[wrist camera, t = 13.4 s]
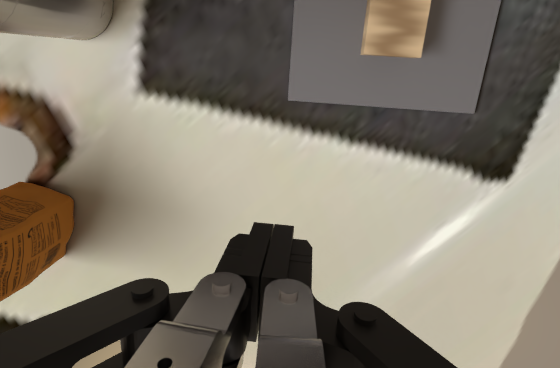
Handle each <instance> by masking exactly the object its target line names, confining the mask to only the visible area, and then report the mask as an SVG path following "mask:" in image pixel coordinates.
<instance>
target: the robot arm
mask: <svg viewBox="0 0 560 368" xmlns="http://www.w3.org/2000/svg"><path fill="white" fill-rule="evenodd" d="M112 11H113V0H0V33H10V34H21V35H32V36H43V37H54V38H63V39H75V40H87V39H92V38H94V37H96V36H98V35H99V34H101V33H102V32H103V31H104V30H105V28H106V27H107V26H108V24H109V21H110V19H111V16H112ZM293 233H294V226H288V225H278V224H275V225H273V224H267V223H257V222H254V224H253V227H252V229H251V232H250V234H249V235H248V234H238V235H236V236H235V237H233V238H232V239H230V241H229V243H228V245H227V248H226V249H225V252H224V254H223V256H222V258H221V260H220V262H219V264H218V266H217V268H216V270H215V272H214V273H213V274H209V275H207V276H205V277H204V278H202V279H201V280H200V282H199V283H198V285H197V286H196V288H195V289H194V290H193V291H189V292H181V293H171V294H169V287H168V285H167V284H166V283H165V282H163V281H161V280H158V279H153V278H145V279H139V280H135V281H132V282H129V283H127V284H124V285H122V286H119V287H117V288H114V289H112V290H109V291H107V292H104V293H102V294H99V295H97V296H94V297H92V298H89V299H87V300H84V301H82V302H79V303H77V304H74V305H72V306H69V307H67V308H64V309H62V310H59V311H57V312H54V313H52V314H49V315H47V316H44V317H42V318H39V319H37V320H34V321H32V322H29V323H27V324H24V325H22V326H19V327H17V328H14V329H12V330H9V331H7V332H4V333H1V334H0V368H72V366H73V365H74V364H75V363H76V362H78V361H79V360H80V359H82V358H84V357H86V356H88V355H90V354H92V353H94V352H96V351H98V350H100V349H102V348H104V347H106V346H108V345H110V344H112V343H114V342H116V341H118V340H120V341H121V350H122V352H121V353H119V354H117V355H115V356H113V357H111V358H109V359H107V360H105V361H104V362H102V363H100V364H98V365H96V366H94V367H92V368H241V367H242V364H243V355H244V352H245V349H246V345H247V341H253V342H256V339H257V334H258V349H257V358H256V367H255V368H457V367H456V366H454V365H453V364H452V363H450V362H449V361H448V360H447V359H445V358H444V357H443V356H441V355H440V354H439V353H437V352H436V351H435V350H434V349H432V348H431V347H430V346H428V345H427V344H426V343H424V342H423V341H422V340H421V339H419V338H418V337H417V336H415V335H414V334H413V333H411V332H410V331H409V330H408V329H406V328H405V327H404V326H402V325H401V324H400V323H398V322H397V321H396V320H395V319H393V318H392V317H391V316H389V315H388V314H387V313H385V312H384V311H383V310H381V309H380V308H378V307H376V306H374V305H372V304H368V303H364V302H351V303H348V304H345V305H344V306H342V307H341V308H340V310H339V311H337V310H334V309H331V308H329V307H326V306H325V305H323V304H321V303H320V302H319V301H317V300H316V298H315V297H314V296H313V294H312V290H311V284H312V247H311V245H310V244H309V243H308V241H307V240H299V239H293ZM258 330H259V333H258Z"/></svg>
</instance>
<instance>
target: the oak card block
mask: <svg viewBox="0 0 560 368" xmlns="http://www.w3.org/2000/svg"><path fill="white" fill-rule="evenodd" d="M430 5H431V0H367V7H366V15H365V23H364V31H363V39H362V47H361V55H372V56H388V57H404V58H421V55H422V49H423V44H424V38H425V33H426V27H427V21H428V16H429V10H430Z"/></svg>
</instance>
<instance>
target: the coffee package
mask: <svg viewBox="0 0 560 368" xmlns="http://www.w3.org/2000/svg"><path fill="white" fill-rule="evenodd" d="M73 209H74V201H73V199H72V198H71V197H69V196H67V195H64V194H61V193H59V192H56V191H54V190H51V189H49V188H45V187H43V186H38V185H36V184H32V183H25V182H18V183H16V184H14V185H11V186H9V187H7V188H4V189H1V190H0V301H2V300H4V299H5V298H7V297H9V296H10V295H12V294H13V293H15V292H17V291H18V290H20V289H22V288H23V287H25V286H27V285H28V284H30V283H31V282H32V281H33V280H34V279H35V278H36V277H38V276H39V275H40V274H41V273H42V272H43V271H44V270H46V269H47V268H49V267H50V266H51V265H53V264H54V263H55V262H56V261H58V260H59V259H60V258H62V257H63V256H64V255H65V253H66V243H67V242H68V240H69V238H70V236H71V234H72V231H73V227H74V217H73Z"/></svg>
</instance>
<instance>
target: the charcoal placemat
mask: <svg viewBox="0 0 560 368" xmlns="http://www.w3.org/2000/svg"><path fill="white" fill-rule="evenodd" d="M500 3H501V0H431V5H430V10H429V16H428V21H427V27H426V33H425V38H424V44H423V49H422V55H421V58H404V57H388V56H372V55H361V47H362V39H363V31H364V23H365V15H366V7H367V0H295V1H294V16H293V31H292V46H291V61H290V76H289V92H288V100H290V101H304V102H318V103H332V104H346V105H359V106H373V107H387V108H401V109H415V110H429V111H443V112H457V113H470V114H474V113H475V108H476V104H477V100H478V96H479V92H480V87H481V83H482V79H483V75H484V70H485V66H486V62H487V58H488V54H489V49H490V45H491V41H492V37H493V33H494V28H495V24H496V20H497V16H498V12H499V7H500Z"/></svg>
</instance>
